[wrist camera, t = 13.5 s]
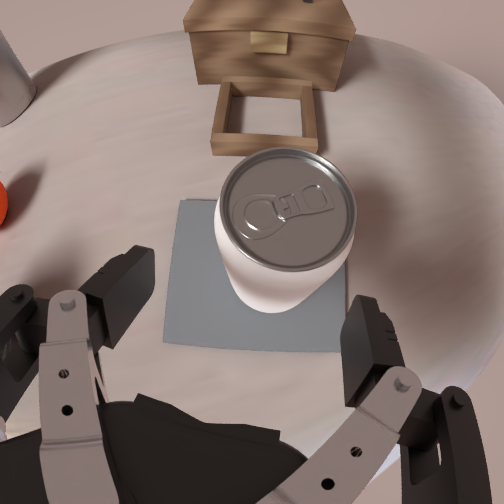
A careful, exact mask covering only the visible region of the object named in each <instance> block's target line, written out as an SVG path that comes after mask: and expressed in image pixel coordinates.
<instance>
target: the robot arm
mask: <svg viewBox="0 0 504 504" xmlns="http://www.w3.org/2000/svg"><path fill="white" fill-rule="evenodd" d="M36 89H37V88H36V86H35V84H34V83H33V81H32V80H31V78H30V77H29V75H28V74H27V72H26V71H25V69H24V68H23V66H22V64H21V63H20V61H19V60H18V59H17V57H16V55H15V54H14V52H13V50H12V48H11V47H10V45H9V44H8V42H7V41H6V39H5V37H4V35H3V34H2V32H1V30H0V127H2V126H5V125H7V124H9V123H10V122H12V121H13V120H14V119H16V118H17V117H18V116H19V115H20V114H21V113H22V112H23V111H24V110H25V109H26V108H27V106H28V105H29V104H30V102H31V101H32V99H33V98H34V96H35V93H36ZM154 286H155V254H154V250H153V249H151V248H147V247H143V246H138V245H134V246H133V247H132V248H131V249H130V250H129V251H128V252H127V253H126V254H120V255H118V256H116V257H114V258H111V259H110V260H109V261H108V262H107V263H106V264H105V265H104V267H101V268H100V269H99V270H98V272H96V273H95V274H94V275H93V276H92V277H91V278H90V279H89V280H88V281H86V282H85V283H84V284H83V285H82V286H81V287H80V288H79V289H78V290H64V291H61V292H59V293H57V294H55V295H54V296H53V297H52V298H51V300H48V299H39V298H35V295H34V292H33V289H32V288H31V287H30V286H28V285H25V284H20V285H15V286H13V287H11V288H9V289H8V290H6V291H5V292H4V293H3V294H2V295H1V296H0V504H352V503H353V501H354V500H355V499H356V498H357V497H358V495H359V494H360V493H361V492H362V490H363V489H364V488H365V487H366V485H367V484H368V483H369V481H370V480H371V479H372V478H373V476H374V475H375V473H376V472H377V471H378V469H379V468H380V467H381V465H382V464H383V462H384V461H385V459H386V458H387V456H388V455H389V453H390V452H391V450H392V449H393V447H394V446H395V444H396V443H397V444H400V454H401V476H402V504H492V497H491V489H490V482H489V475H488V469H487V463H486V458H485V454H484V449H483V444H482V439H481V435H480V431H479V427H478V423H477V419H476V415H475V412H474V409H473V405H472V402H471V399H470V397H469V396H468V394H467V393H466V392H465V391H464V390H462V389H461V388H459V387H456V386H449V387H446V388H445V389H444V390H443V391H442V393H441V394H437V393H435V392H432V391H429V390H426V389H424V388H422V385H421V381H420V379H419V378H418V376H417V375H416V374H415V373H414V372H412V371H411V370H409V369H407V368H406V367H405V364H404V360H403V356H402V353H401V349H400V346H399V343H398V342H397V340H398V339H397V336H396V334H395V330H394V327H393V323H392V321H391V320H390V319H389V318H388V316H387V315H386V314H385V313H383V312H380V310H379V307H378V304H377V300H376V299H375V298H372V297H367V296H362V295H356V296H355V298H354V300H353V302H352V305H351V307H350V309H349V312H348V314H347V316H346V319H345V321H344V323H343V326H342V329H341V333H340V345H341V356H342V368H343V382H344V398H345V407H355V408H356V410H355V411H354V412H353V413H352V414H351V415H350V416H349V418H348V419H347V420H346V421H345V422H344V423H343V424H342V425H341V426H340V428H339V429H338V430H337V431H336V432H335V433H334V434H333V435H332V436H331V437H330V438H329V439H328V440H327V441H326V442H325V443H324V444H323V445H322V446H321V447H320V448H319V449H318V450H317V451H316V452H315V453H314V454H313V455H312V456H311V457H310V458H309V459H307V457H306V456H304V455H303V454H302V453H301V452H300V451H298V450H297V449H295V448H294V447H292V446H290V445H288V444H286V443H285V442H282V441H280V440H279V438H280V431H279V430H273V429H267V428H262V427H257V426H251V425H247V424H214V423H204V422H202V421H199V420H198V419H196V418H194V417H192V416H190V415H188V414H187V413H185V412H183V411H181V410H180V409H178V408H176V407H174V406H173V405H171V404H168V403H165V402H162V401H159V400H156V399H153V398H150V397H148V396H145V395H142V394H139V393H138V395H137V397H136V398H135V400H134V402H131V401H115V402H109V399H108V395H107V391H106V386H105V381H104V376H103V370H102V365H101V359H100V353H99V349H100V348H101V347H102V345H103V346H106V347H108V348H111V349H114V347H115V346H116V344H117V343H118V341H119V340H120V338H121V337H122V336H123V334H124V333H125V331H126V330H127V329H128V327H129V326H130V324H131V323H132V322H133V320H134V319H135V317H136V316H137V315H138V313H139V312H140V310H141V309H142V308H143V306H144V305H145V304H146V302H147V301H148V300H149V298H150V297H151V295H152V293H153V290H154ZM14 334H16V337H17V339H18V342H17V343H16V345H15V346H14V347H13V348H12V349H11V351H10V352H9V353H8V355H7V356H6V357H5V358H4V360H3V361H2V358H1V352H2V349H3V347H4V346H5V344H6V343H7V342H8V341H9V340H10V338H11V337H12V336H13V335H14ZM38 372H39V405H40V420H41V428H40V429H37V430H34V431H31V432H29V433H26V434H23V435H20V436H17V437H14V438H11V439H8V440H7V436H6V434H5V432H6V425H5V423H6V421H7V419H8V418H9V416H10V414H11V413H12V411H13V410H14V408H15V406H16V405H17V403H18V402H19V400H20V398H21V397H22V395H23V394H24V392H25V391H26V389H27V388H28V386H29V385H30V383H31V382H32V380H33V379H34V377H35V376H36V374H37V373H38ZM438 443H439V444H440V451H441V465H440V464H439V457H438V448H437V444H438Z"/></svg>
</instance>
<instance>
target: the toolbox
mask: <svg viewBox="0 0 504 504" xmlns="http://www.w3.org/2000/svg"><path fill="white" fill-rule="evenodd" d="M183 23H184V29H185V32H189V35H190V41H191V47H192V53H193V58H194V64H195V69H196V75H197V80H198V85H199V84H221V87H220V92H219V97H218V102H217V107H216V112H215V118H214V123H213V128H212V134H211V140H210V143H211V148H212V153H213V155H217V156H250V155H252V154H254V153H256V152H258V151H261V150H264V149H268V148H274V147H294V148H300V149H304V150H308V151H311V152H313V153H317V150H318V138H317V127H316V117H315V107H314V98H313V90H312V89H318V90H326V91H333V92H335V89H336V85H337V82H338V78H339V75H340V71H341V68H342V64H343V61H344V57H345V53H346V50H347V46H348V43H349V41H353V39H354V35H355V31H356V28H355V26H354V24H353V22H352V20H351V17H350V16H349V13H348V11H347V9H346V7H345V5H344V3H343V1H342V0H194V2H193V4H192V5H191V7H190V9H189V11H188V12H187V14H186V16H185V17H184V19H183ZM232 96H256V97H275V98H289V99H300V101H301V117H302V135H303V137H293V136H280V135H263V134H238V133H226V132H227V125H228V119H229V112H230V105H231V99H232Z"/></svg>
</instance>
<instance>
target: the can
mask: <svg viewBox="0 0 504 504" xmlns="http://www.w3.org/2000/svg"><path fill="white" fill-rule="evenodd" d="M356 223H357V204H356V199H355V196H354V193H353V190H352V188H351V186H350V184H349V182H348V181H347V179H346V178H345V176H344V175H343V174H342V173H341V171H340V170H339V169H338V168H337V167H336V166H334V165H333V164H332V163H331V162H329V161H328V160H327V159H325V158H323V157H322V156H320V155H318V154H316V153H313V152H311V151H308V150H304V149H300V148H294V147H274V148H268V149H264V150H261V151H258V152H256V153H254V154H252V155H250V156H248V157H247V158H245V159H244V160H242V161H241V162H240V163H239V164H237V165H236V166H235V167H234V169H233V170H232V171H231V172H230V174H229V175H228V177H227V178H226V180H225V182H224V185H223V187H222V190H221V195H220V197H219V199H218V202H217V205H216V209H215V216H214V228H215V235H216V240H217V244H218V247H219V250H220V253H221V256H222V259H223V262H224V265H225V268H226V271H227V274H228V276H229V279H230V282H231V284H232V286H233V288H234V290H235V292H236V294H237V295H238V297H239V298H240V299H241V300H242V301H243V302H244V303H245V304H246V305H248V306H249V307H251V308H253V309H255V310H257V311H261V312H265V313H279V312H284V311H287V310H289V309H291V308H293V307H295V306H296V305H298V304H299V303H301V302H302V301H303V300H304V299H306V298H307V297H308V296H309V295H310V294H312V293H313V292H314V291H315V290H316V289H318V288H319V287H320V286H321V285H322V284H323V283H324V282H326V281H327V280H328V279H329V278H330V277H331V276H332V275H333V274H334V273H335V272H336V271H337V270H338V269H339V268H340V267H341V265H342V264H343V262H344V261H345V259H346V258H347V256H348V254H349V252H350V249H351V247H352V243H353V239H354V232H355V228H356Z"/></svg>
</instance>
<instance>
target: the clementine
mask: <svg viewBox="0 0 504 504" xmlns="http://www.w3.org/2000/svg"><path fill="white" fill-rule="evenodd" d="M7 208H8V197H7V192H6V190H5V188H4V186H3V184H2V183H1V182H0V225H1V224H2V222H3V220H4V218H5V216H6V213H7Z"/></svg>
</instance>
